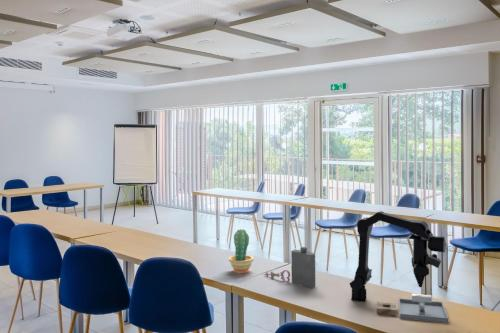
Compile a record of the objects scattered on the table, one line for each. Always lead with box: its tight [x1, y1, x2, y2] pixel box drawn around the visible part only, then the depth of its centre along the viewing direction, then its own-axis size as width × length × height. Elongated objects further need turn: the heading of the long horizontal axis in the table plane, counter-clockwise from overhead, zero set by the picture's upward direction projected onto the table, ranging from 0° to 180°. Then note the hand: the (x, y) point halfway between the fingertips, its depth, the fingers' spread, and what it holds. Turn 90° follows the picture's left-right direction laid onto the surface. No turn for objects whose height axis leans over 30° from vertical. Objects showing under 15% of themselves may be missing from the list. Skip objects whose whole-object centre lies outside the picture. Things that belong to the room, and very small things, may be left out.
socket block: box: [376, 301, 397, 316], centre depth 194 cm, size 8×8×2 cm
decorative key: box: [263, 269, 291, 283], centre depth 244 cm, size 7×1×20 cm
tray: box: [397, 297, 449, 324], centre depth 193 cm, size 19×19×2 cm
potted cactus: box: [228, 228, 255, 274], centre depth 259 cm, size 15×15×25 cm
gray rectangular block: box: [411, 293, 433, 312], centre depth 193 cm, size 8×2×7 cm, turn 73°
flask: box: [290, 246, 316, 289], centre depth 233 cm, size 15×6×20 cm, turn 44°
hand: (419, 283), depth 194 cm, fingers open, 9 cm apart
